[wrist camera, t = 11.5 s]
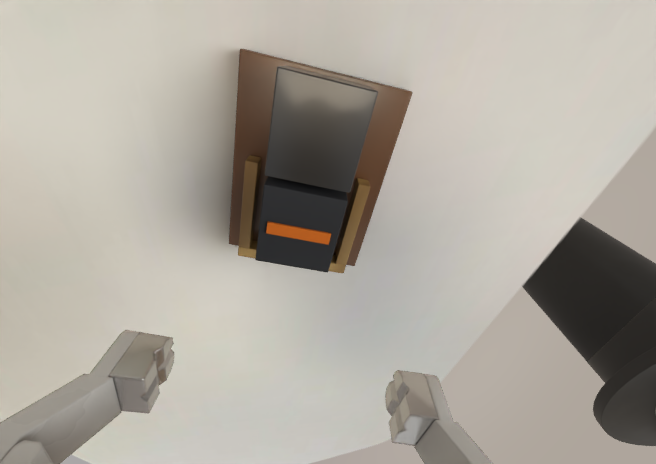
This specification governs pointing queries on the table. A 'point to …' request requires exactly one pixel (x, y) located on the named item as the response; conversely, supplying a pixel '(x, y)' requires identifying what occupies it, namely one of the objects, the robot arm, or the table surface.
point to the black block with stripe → (299, 224)
